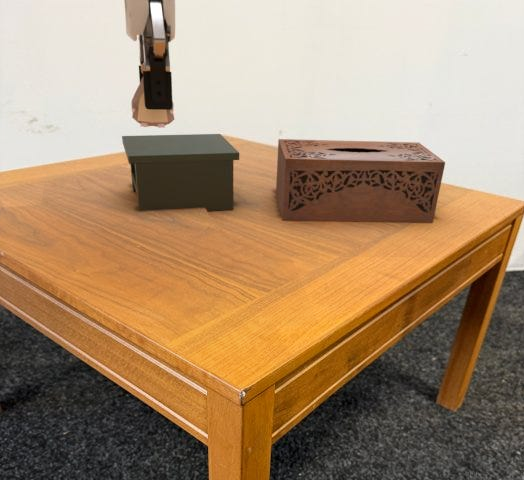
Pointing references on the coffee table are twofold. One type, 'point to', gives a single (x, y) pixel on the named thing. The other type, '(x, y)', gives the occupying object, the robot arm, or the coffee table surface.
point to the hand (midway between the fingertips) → (156, 103)
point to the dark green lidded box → (181, 171)
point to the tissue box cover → (357, 181)
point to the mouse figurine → (149, 110)
